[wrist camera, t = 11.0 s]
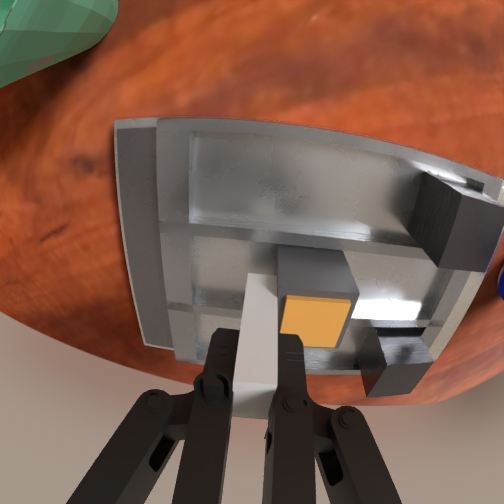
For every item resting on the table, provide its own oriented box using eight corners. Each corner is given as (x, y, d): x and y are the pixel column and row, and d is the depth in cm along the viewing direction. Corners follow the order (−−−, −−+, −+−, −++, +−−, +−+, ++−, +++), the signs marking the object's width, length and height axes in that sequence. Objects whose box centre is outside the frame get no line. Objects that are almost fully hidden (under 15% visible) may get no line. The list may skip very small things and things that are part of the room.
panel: (149, 332, 23) (128, 382, 18) (126, 117, 14) (70, 130, 9) (430, 349, 22) (449, 393, 18) (505, 179, 14) (553, 208, 9)
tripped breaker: (270, 297, 18) (268, 348, 14) (277, 244, 16) (279, 291, 12) (328, 302, 18) (339, 352, 14) (342, 250, 16) (361, 297, 12)
